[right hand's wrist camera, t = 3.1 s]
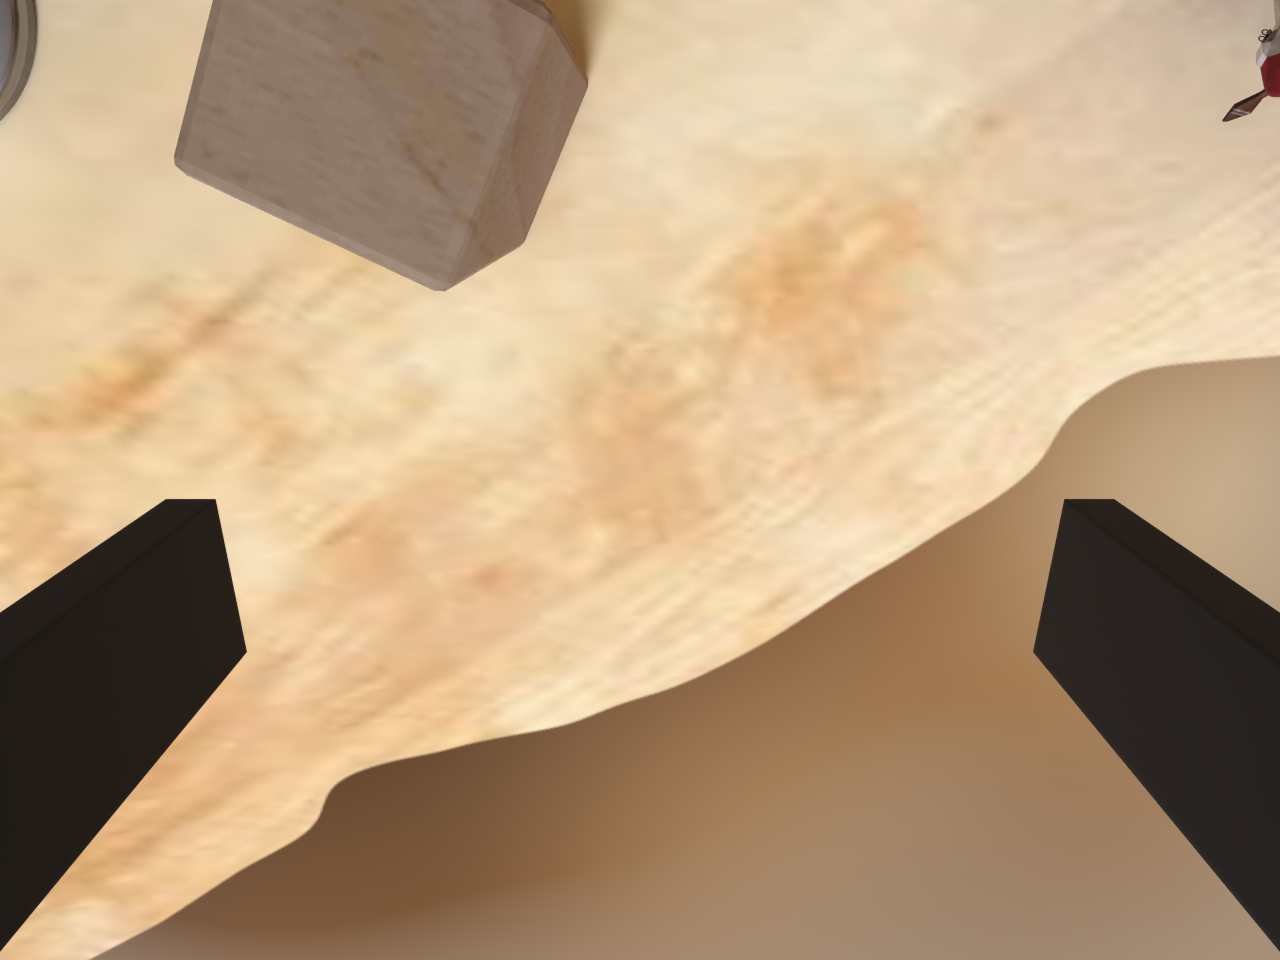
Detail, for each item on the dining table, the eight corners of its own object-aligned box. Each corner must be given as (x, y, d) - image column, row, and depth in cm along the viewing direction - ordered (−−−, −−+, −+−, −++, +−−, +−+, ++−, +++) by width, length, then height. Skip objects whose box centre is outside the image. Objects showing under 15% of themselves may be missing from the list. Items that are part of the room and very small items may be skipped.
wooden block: (419, -13, 42) (244, -161, 24) (592, 78, 44) (556, 7, 25) (359, 170, 45) (163, 168, 27) (522, 249, 47) (444, 298, 28)
